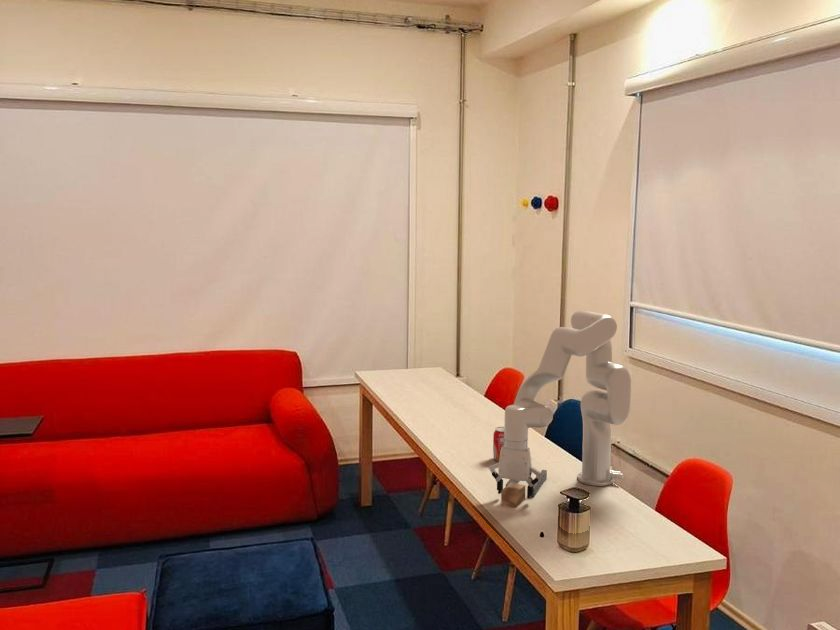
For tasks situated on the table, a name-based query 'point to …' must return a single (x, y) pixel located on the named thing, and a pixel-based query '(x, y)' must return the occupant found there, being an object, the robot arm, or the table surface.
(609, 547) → the table surface
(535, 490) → the guide channel
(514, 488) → the walnut block
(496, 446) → the soda can
